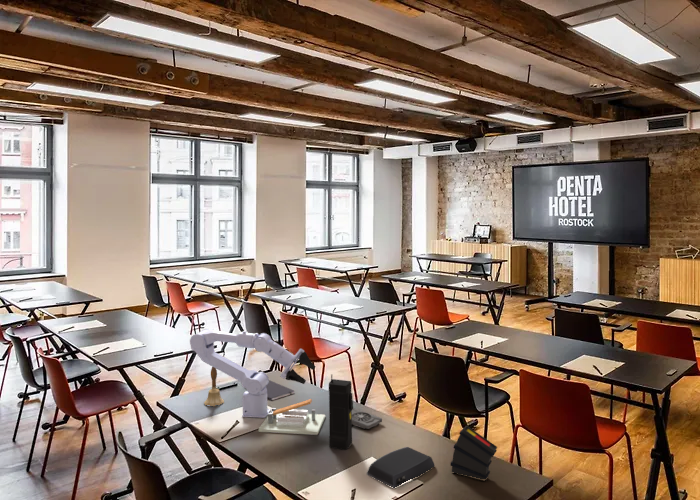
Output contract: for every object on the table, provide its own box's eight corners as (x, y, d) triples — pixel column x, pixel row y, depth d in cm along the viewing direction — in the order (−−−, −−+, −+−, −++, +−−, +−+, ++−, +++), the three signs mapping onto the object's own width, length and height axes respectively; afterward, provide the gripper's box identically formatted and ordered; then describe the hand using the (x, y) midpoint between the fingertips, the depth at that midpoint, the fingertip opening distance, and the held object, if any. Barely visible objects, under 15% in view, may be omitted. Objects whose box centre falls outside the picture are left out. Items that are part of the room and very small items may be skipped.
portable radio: (355, 443, 185) (355, 373, 183) (349, 450, 180) (349, 378, 177) (334, 439, 188) (334, 371, 186) (328, 447, 182) (327, 376, 180)
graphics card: (330, 414, 203) (351, 404, 212) (330, 423, 204) (351, 413, 213) (364, 427, 192) (384, 416, 201) (364, 436, 192) (384, 425, 201)
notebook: (244, 389, 241) (271, 401, 225) (244, 385, 241) (271, 398, 225) (267, 382, 249) (295, 394, 234) (267, 379, 249) (295, 390, 234)
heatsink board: (258, 431, 195) (258, 418, 194) (270, 414, 211) (270, 402, 210) (317, 434, 192) (317, 421, 192) (325, 417, 208) (325, 404, 207)
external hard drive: (364, 474, 165) (364, 462, 164) (406, 454, 178) (406, 442, 177) (395, 491, 155) (395, 478, 155) (437, 469, 168) (437, 456, 168)
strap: (270, 417, 201) (268, 413, 201) (272, 414, 204) (271, 410, 204) (310, 404, 198) (309, 401, 198) (312, 401, 201) (311, 398, 201)
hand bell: (226, 399, 227) (225, 362, 226) (221, 406, 219) (220, 369, 217) (206, 399, 227) (205, 363, 226) (201, 406, 219) (200, 369, 217)
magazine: (445, 461, 169) (465, 424, 164) (481, 488, 163) (504, 450, 159) (441, 466, 166) (461, 428, 161) (478, 494, 160) (500, 456, 156)
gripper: (273, 363, 199) (303, 384, 198) (293, 337, 210) (321, 357, 209) (269, 372, 204) (298, 392, 203) (288, 346, 215) (316, 366, 214)
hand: (309, 375), depth 206 cm, fingers open, 7 cm apart
